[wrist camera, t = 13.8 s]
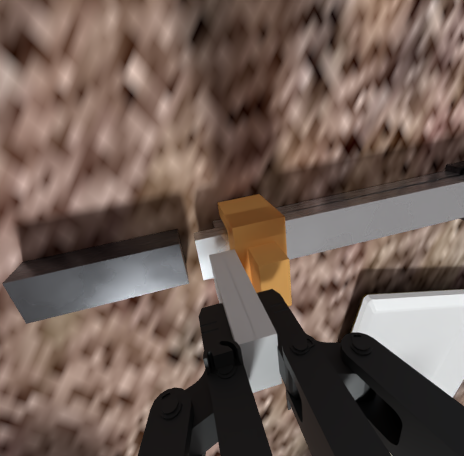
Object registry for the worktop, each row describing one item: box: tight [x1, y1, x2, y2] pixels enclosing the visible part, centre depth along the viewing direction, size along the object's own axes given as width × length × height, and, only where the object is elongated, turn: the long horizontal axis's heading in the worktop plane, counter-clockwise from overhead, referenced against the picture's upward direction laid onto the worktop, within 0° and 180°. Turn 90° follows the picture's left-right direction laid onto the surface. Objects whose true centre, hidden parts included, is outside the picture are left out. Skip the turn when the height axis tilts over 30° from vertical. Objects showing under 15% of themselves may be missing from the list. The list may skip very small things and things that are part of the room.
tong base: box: [2, 161, 464, 324], centre depth 20 cm, size 37×4×2 cm, turn 98°
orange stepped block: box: [218, 194, 292, 306], centre depth 17 cm, size 3×6×6 cm, turn 8°
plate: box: [350, 289, 464, 398], centre depth 30 cm, size 19×19×2 cm
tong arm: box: [194, 174, 464, 280], centre depth 20 cm, size 26×4×1 cm, turn 98°
